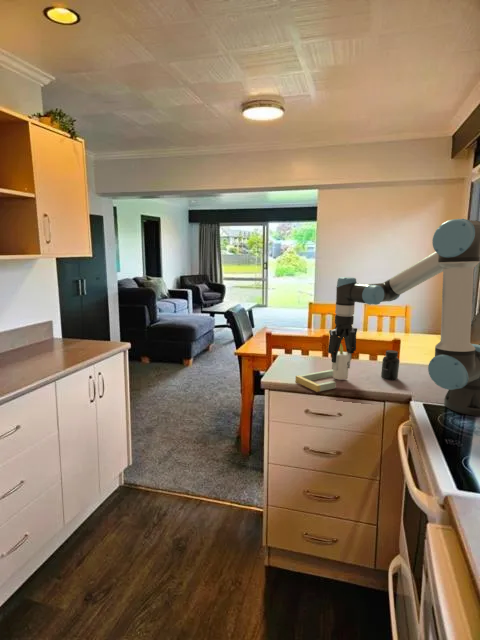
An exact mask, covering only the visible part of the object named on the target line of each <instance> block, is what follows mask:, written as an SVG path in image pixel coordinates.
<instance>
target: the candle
mask: <svg viewBox="0 0 480 640" xmlns="http://www.w3.org/2000/svg"><path fill="white" fill-rule="evenodd" d="M337 355H339V359H338V370H337V371H336V370H333V376H332V378H333V379H335V380H340V381H341V380H348V378H349V369H350V368H349V353H347V351H344V347H343V343H341V344H340V347H339V350H338V353H337Z"/></svg>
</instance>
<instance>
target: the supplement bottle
mask: <svg viewBox="0 0 480 640" xmlns="http://www.w3.org/2000/svg"><path fill="white" fill-rule="evenodd" d="M398 354H399V352H398V351H397V350H391V349H387V350H385V356H384V357H382V362H381V363H382V364H381V373H380V377H381V378H382V379H383V380H387V381H397V380H398V377H399V369H400V359H399V358H398ZM396 379H397V380H396Z"/></svg>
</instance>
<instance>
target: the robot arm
mask: <svg viewBox="0 0 480 640" xmlns="http://www.w3.org/2000/svg"><path fill="white" fill-rule="evenodd" d="M432 247H433V250H434V252H433V253H430V254H429V255H427V256H426V257H424V258H422V259H421V260H419V261H418V262H415V263H414V264H412V265H411V266H409V267H407V268H406V269H404V270H402V271H401V272H398V273H397V274H395V275H394V276H393V277H391V278H389V279H387V280H385V281H384V282H380V283H357V278H356V277H351V276H340V277H338V279H337V282H336V296H335V297H336V298H335V300H336V301H335V309H334V310H335V311H334V313H335V315H334V323H335V327H334V329H329V332H328V333H329V341H328V348H327V349H328V350H327V353H328V354H330V355H331V370H332V369H333V370H336V371H337V370H338V359H339V355H337V353H338V351H340V344H342V341H343V339H344V344H345V349H346V352H347V353H349V368H348V369H351V361H352V357H353V356H352V355H353V354H354V353H355V352H356V351H357V332H358V328H357V327H353V325H354V319H355V316H354V315H355V305H356V304H355V303H361V304H367V305H376V306H377V305H380V304H381V303H384V302H392V301H395V300H397V299H399V297H400V296H401V295H402V294H404V293H406V292H408V291H409V290H412V289H413V288H415V287H417V286H419V285H421V284H422V283H424V282H426V281H428V280H430V279H431V278H434V277H435V276H437V275H440V274H441V273H442V292H441V293H442V295H441V316H440V317H441V318H440V319H441V320H440V321H441V322H440V341H439V342H438V343H437V344H436V345H435V347H434V356H433V358H431V360H430V361H429V363H428V367H427V370H428V371H427V372H428V375H429V378H430V379H431V380H432V381H433V382H434V383H435V384H436V385H437V386H438V387H440V388H442V389H444V390H447V392H446V394H445V396H444V399H443V400H444V402H443V406H445V407H446V408H448V409H449V410H450V411H453V412H456V413H458V414H463V415H467V416H473V417H474V416H476V417H480V344H476V343H471V337H472V336H471V334H472V312H473V311H472V310H473V309H472V308H473V289H474V271H475V270H474V268H475V267H476V266H477V265H478V264H480V221H479V220H471V219H466V218H454V219H448V220H446V221H444V222H443V223H441V225H439V227H437V229H436V230H435V232H434V233H433V236H432Z"/></svg>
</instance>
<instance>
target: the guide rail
mask: <svg viewBox="0 0 480 640" xmlns="http://www.w3.org/2000/svg"><path fill="white" fill-rule="evenodd" d="M331 377H332V378H333V369H332V368H331V369H328V370H327V369H326V370H323V371H316V372H315V371H314V372H310V373H305V374H304V373H303V374H299V375H295V383H297V384H300V385H302V386H303V387H306V388H308V389H310V390H312V391H314V392H316V393H318V392H324V391H329V390H332V389H333V390H334V389H336V388H337V387H336V386H337V382H336V381H333V380H331V381H330V380H329V381H326V382H322V383H316V382H314V381H315V380H319V379H325V378H331Z"/></svg>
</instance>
